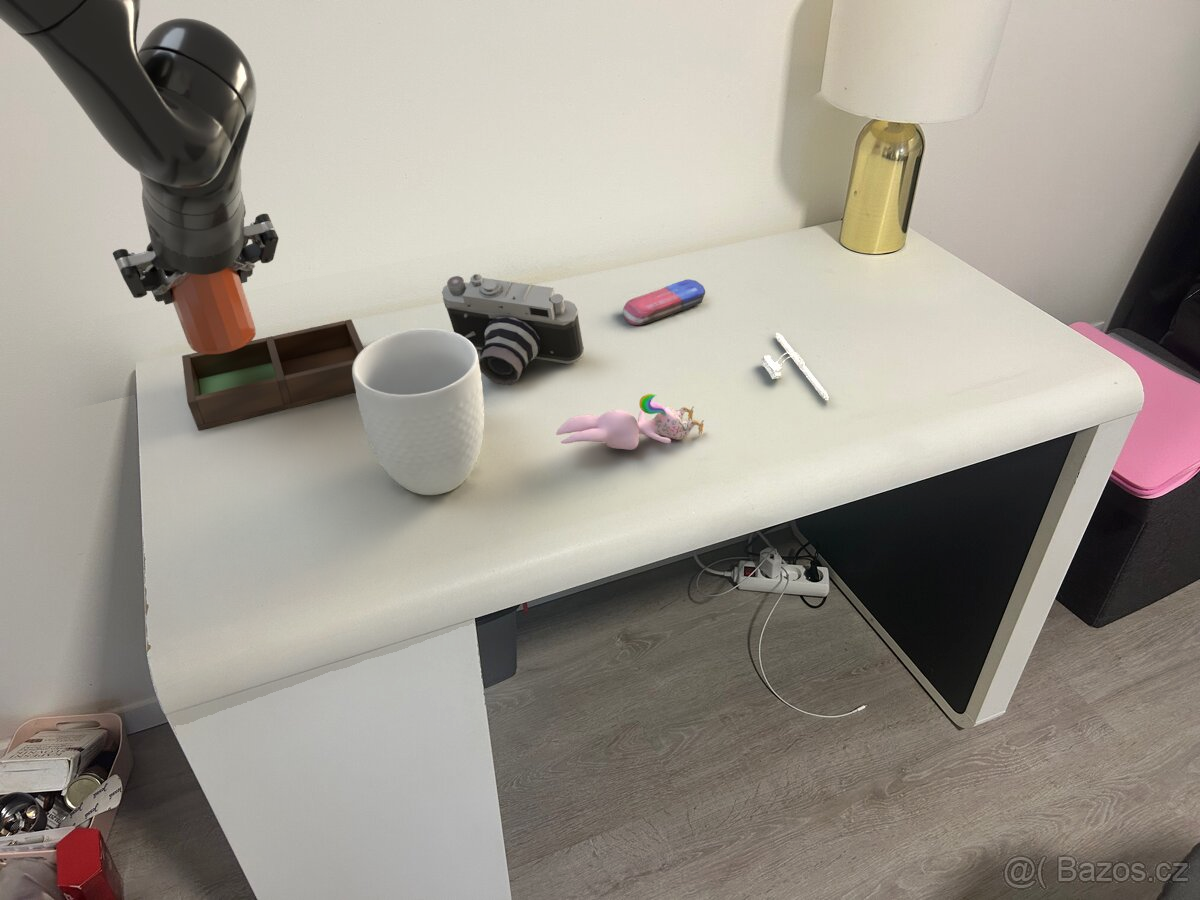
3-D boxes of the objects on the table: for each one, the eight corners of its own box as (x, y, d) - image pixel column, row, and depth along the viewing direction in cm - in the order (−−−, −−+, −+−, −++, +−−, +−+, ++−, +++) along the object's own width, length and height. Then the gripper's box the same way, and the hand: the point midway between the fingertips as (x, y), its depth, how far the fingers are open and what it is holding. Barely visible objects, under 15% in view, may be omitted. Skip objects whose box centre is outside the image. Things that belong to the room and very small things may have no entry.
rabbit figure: (680, 421, 90) (547, 433, 85) (692, 373, 87) (553, 383, 81) (706, 456, 86) (566, 471, 80) (719, 407, 82) (574, 419, 77)
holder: (198, 430, 88) (187, 402, 85) (192, 382, 94) (181, 355, 92) (375, 387, 93) (369, 359, 91) (357, 345, 100) (351, 318, 98)
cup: (191, 360, 85) (160, 279, 79) (187, 329, 89) (157, 250, 84) (259, 345, 87) (234, 265, 81) (252, 315, 91) (228, 237, 86)
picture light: (830, 402, 90) (834, 386, 89) (792, 408, 90) (795, 392, 88) (778, 335, 101) (780, 320, 100) (744, 340, 100) (746, 325, 99)
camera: (435, 381, 97) (412, 319, 89) (463, 327, 101) (443, 264, 93) (565, 403, 93) (553, 341, 85) (587, 346, 98) (578, 282, 90)
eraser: (636, 329, 102) (636, 316, 101) (617, 314, 105) (617, 302, 104) (709, 301, 107) (710, 289, 106) (690, 288, 110) (690, 276, 108)
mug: (429, 408, 90) (411, 299, 82) (525, 428, 87) (516, 317, 79) (354, 498, 79) (325, 382, 71) (461, 523, 76) (442, 407, 68)
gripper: (263, 153, 74) (258, 232, 89) (83, 192, 67) (111, 270, 82) (298, 232, 74) (287, 298, 89) (121, 278, 67) (142, 340, 82)
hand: (202, 284), depth 85 cm, fingers closed on cup, 6 cm apart
